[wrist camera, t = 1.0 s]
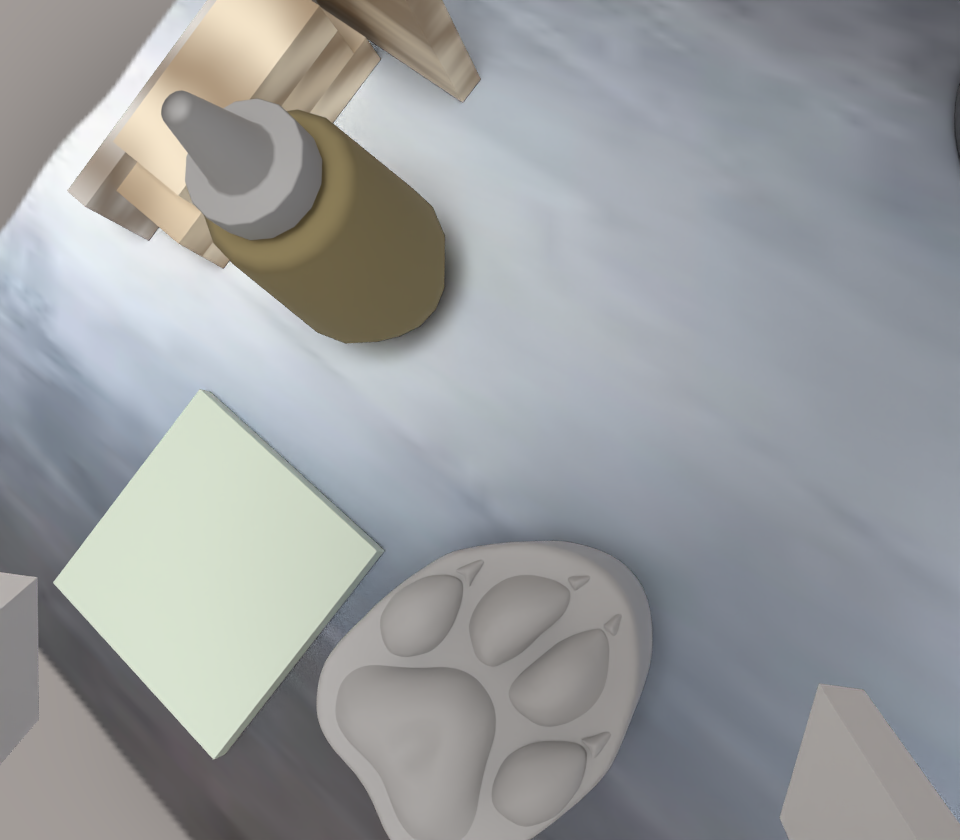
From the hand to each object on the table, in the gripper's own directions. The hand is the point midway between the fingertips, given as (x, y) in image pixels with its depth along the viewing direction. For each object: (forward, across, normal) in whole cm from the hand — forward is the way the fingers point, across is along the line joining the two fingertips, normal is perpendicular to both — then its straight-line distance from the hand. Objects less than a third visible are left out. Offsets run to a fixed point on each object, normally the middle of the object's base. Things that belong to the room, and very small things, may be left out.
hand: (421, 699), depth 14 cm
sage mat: (+26, -12, -12) cm, 31 cm away
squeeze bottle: (+31, -5, +3) cm, 31 cm away
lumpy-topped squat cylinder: (+22, +4, -12) cm, 25 cm away
